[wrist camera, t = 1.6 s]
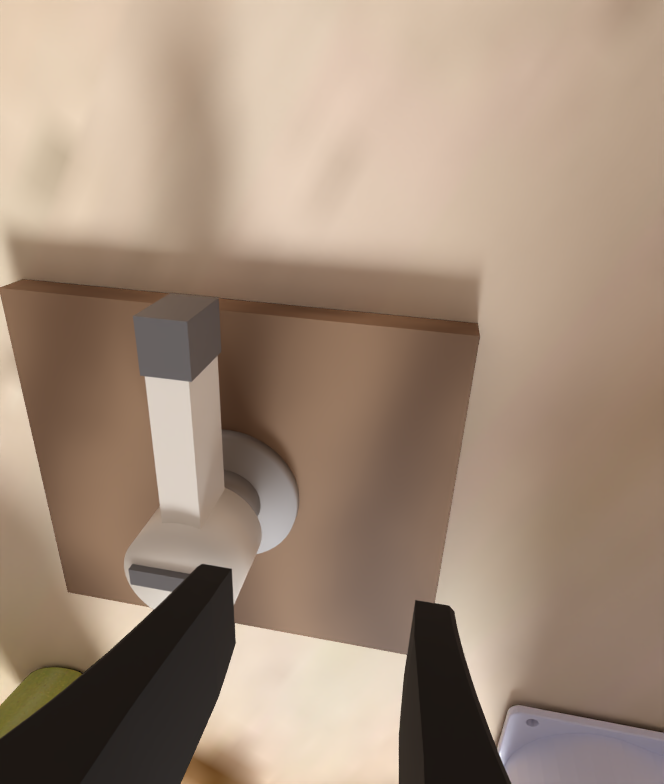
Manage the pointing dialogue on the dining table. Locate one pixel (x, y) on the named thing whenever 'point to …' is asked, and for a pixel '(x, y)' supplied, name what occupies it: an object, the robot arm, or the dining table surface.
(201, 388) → the gray-tipped lever post
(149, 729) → the robot arm
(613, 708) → the dining table surface
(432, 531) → the brown rectangular board
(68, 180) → the dining table surface
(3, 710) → the plant pot
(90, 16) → the dining table surface
